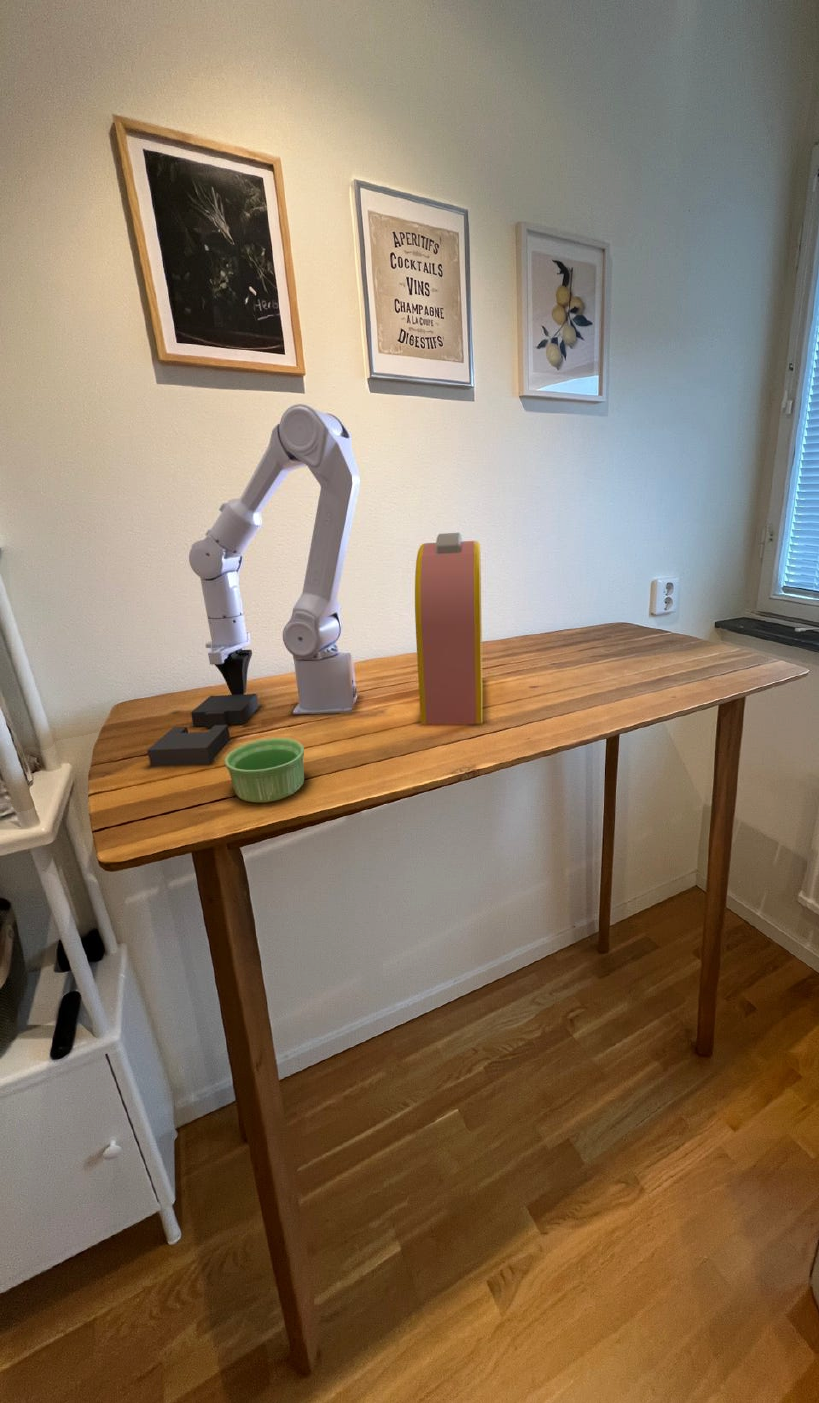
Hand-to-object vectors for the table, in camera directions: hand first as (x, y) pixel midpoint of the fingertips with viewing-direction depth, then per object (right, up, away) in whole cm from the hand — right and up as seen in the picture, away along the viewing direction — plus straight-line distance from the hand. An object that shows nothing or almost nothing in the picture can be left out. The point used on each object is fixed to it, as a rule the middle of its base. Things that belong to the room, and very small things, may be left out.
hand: (238, 693), depth 95 cm
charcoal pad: (-1, -8, -19) cm, 21 cm away
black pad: (0, -4, -6) cm, 7 cm away
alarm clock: (+37, -1, -5) cm, 37 cm away
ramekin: (+13, -12, -30) cm, 35 cm away
